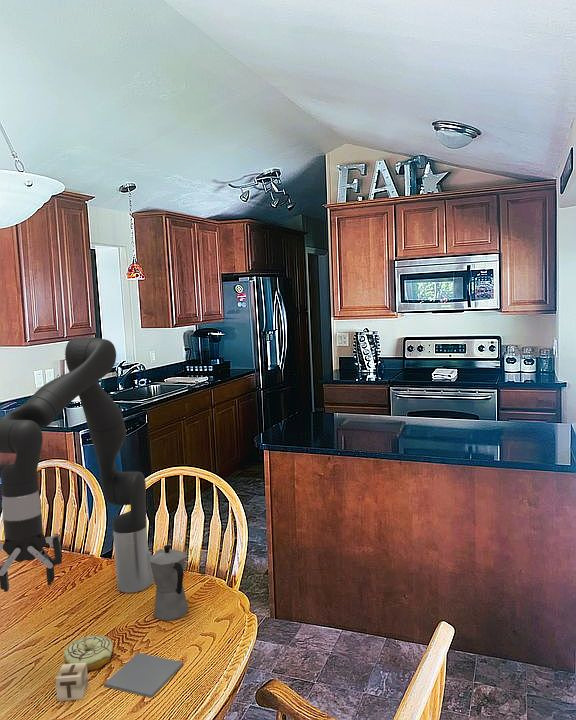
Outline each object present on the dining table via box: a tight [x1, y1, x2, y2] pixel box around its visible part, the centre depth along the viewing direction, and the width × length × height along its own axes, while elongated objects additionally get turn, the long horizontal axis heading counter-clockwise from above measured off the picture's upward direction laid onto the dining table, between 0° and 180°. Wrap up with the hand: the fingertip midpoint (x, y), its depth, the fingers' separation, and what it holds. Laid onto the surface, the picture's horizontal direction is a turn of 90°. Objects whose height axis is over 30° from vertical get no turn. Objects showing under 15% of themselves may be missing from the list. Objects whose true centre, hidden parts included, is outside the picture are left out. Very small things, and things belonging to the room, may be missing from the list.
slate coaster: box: [103, 652, 184, 699], centre depth 135 cm, size 12×12×1 cm
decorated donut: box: [63, 634, 114, 672], centre depth 142 cm, size 10×11×4 cm
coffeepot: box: [150, 544, 189, 622], centre depth 160 cm, size 15×9×18 cm, turn 33°
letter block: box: [54, 663, 89, 702], centre depth 130 cm, size 5×5×5 cm
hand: (28, 587), depth 133 cm, fingers open, 8 cm apart
